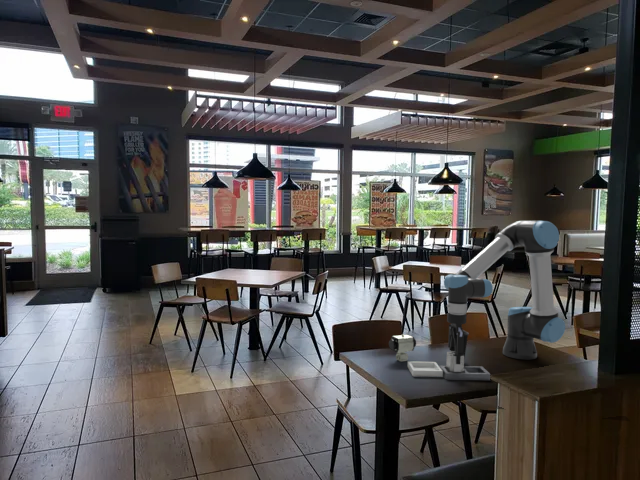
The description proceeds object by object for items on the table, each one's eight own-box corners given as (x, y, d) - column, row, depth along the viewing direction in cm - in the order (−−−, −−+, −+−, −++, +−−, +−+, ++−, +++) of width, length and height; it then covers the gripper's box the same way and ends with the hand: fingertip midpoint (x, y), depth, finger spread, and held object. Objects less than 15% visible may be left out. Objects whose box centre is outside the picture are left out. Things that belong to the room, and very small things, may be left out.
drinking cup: (468, 365, 214) (470, 320, 213) (450, 364, 216) (451, 319, 214) (466, 360, 222) (468, 317, 220) (449, 359, 223) (450, 315, 222)
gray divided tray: (481, 372, 206) (482, 366, 206) (490, 380, 196) (490, 374, 196) (439, 371, 205) (439, 365, 205) (445, 379, 195) (446, 373, 195)
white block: (459, 373, 203) (460, 350, 203) (463, 378, 198) (464, 354, 197) (446, 373, 203) (446, 350, 203) (449, 377, 198) (450, 354, 197)
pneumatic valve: (388, 360, 219) (388, 333, 219) (410, 357, 224) (410, 331, 223) (394, 363, 214) (395, 336, 214) (416, 361, 219) (417, 334, 218)
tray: (435, 367, 210) (435, 361, 210) (442, 377, 198) (442, 371, 198) (407, 367, 210) (407, 361, 210) (413, 376, 198) (413, 370, 198)
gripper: (441, 308, 208) (439, 361, 209) (454, 317, 190) (452, 376, 191) (459, 308, 208) (457, 362, 210) (473, 318, 190) (471, 376, 191)
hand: (454, 368), depth 200 cm, fingers closed on white block, 5 cm apart
